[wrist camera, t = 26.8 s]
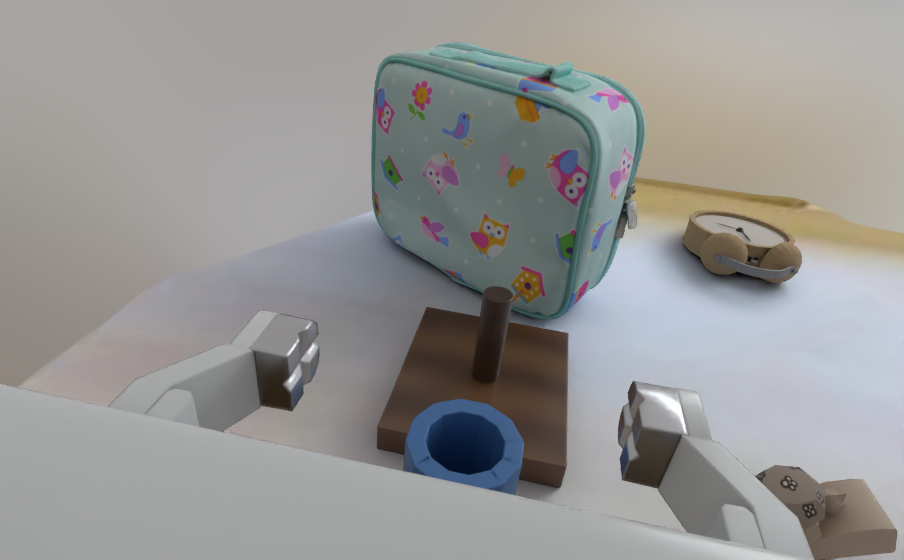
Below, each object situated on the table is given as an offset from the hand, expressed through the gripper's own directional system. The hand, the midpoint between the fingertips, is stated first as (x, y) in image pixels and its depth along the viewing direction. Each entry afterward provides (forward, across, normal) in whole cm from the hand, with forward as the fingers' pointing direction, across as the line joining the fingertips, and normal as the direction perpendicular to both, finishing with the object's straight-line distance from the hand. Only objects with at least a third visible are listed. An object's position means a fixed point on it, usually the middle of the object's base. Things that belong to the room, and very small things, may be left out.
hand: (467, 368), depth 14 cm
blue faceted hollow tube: (+7, 0, +19) cm, 21 cm away
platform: (+20, 0, +19) cm, 28 cm away
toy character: (+13, -19, +20) cm, 31 cm away
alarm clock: (+50, -25, +20) cm, 59 cm away
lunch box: (+38, +3, +20) cm, 43 cm away
